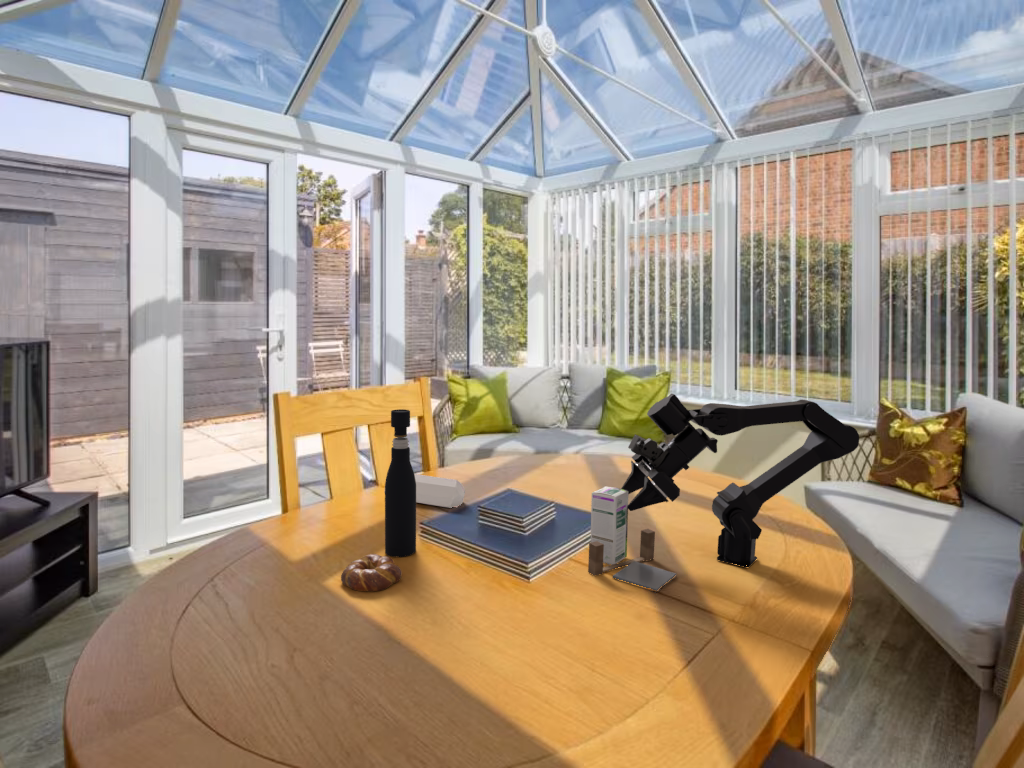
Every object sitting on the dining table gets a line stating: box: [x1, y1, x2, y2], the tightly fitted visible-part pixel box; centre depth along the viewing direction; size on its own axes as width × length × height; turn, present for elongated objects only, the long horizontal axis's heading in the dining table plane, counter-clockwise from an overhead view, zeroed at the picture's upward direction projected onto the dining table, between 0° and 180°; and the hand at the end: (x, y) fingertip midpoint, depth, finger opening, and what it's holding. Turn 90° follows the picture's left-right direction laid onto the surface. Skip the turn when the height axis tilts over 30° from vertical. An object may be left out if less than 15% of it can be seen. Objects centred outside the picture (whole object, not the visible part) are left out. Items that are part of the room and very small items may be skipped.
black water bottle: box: [384, 408, 417, 558], centre depth 122 cm, size 6×6×30 cm
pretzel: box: [340, 553, 403, 592], centre depth 111 cm, size 12×11×4 cm
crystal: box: [414, 473, 466, 509], centre depth 158 cm, size 7×7×24 cm
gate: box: [587, 528, 656, 577], centre depth 119 cm, size 16×2×6 cm, turn 122°
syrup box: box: [590, 485, 629, 565], centre depth 122 cm, size 6×6×14 cm
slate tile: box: [612, 561, 677, 591], centre depth 114 cm, size 9×9×1 cm
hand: (624, 502), depth 121 cm, fingers open, 9 cm apart
